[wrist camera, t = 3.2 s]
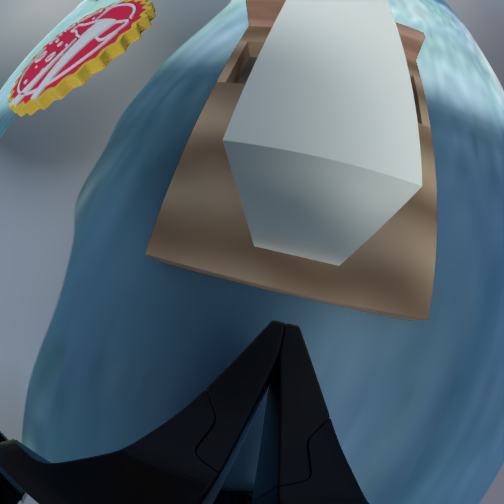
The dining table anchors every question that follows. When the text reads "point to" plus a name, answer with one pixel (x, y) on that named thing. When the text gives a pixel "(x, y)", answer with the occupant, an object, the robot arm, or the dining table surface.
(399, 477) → the dining table surface
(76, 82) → the decorative sign
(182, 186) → the trap deck
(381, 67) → the light gray block
